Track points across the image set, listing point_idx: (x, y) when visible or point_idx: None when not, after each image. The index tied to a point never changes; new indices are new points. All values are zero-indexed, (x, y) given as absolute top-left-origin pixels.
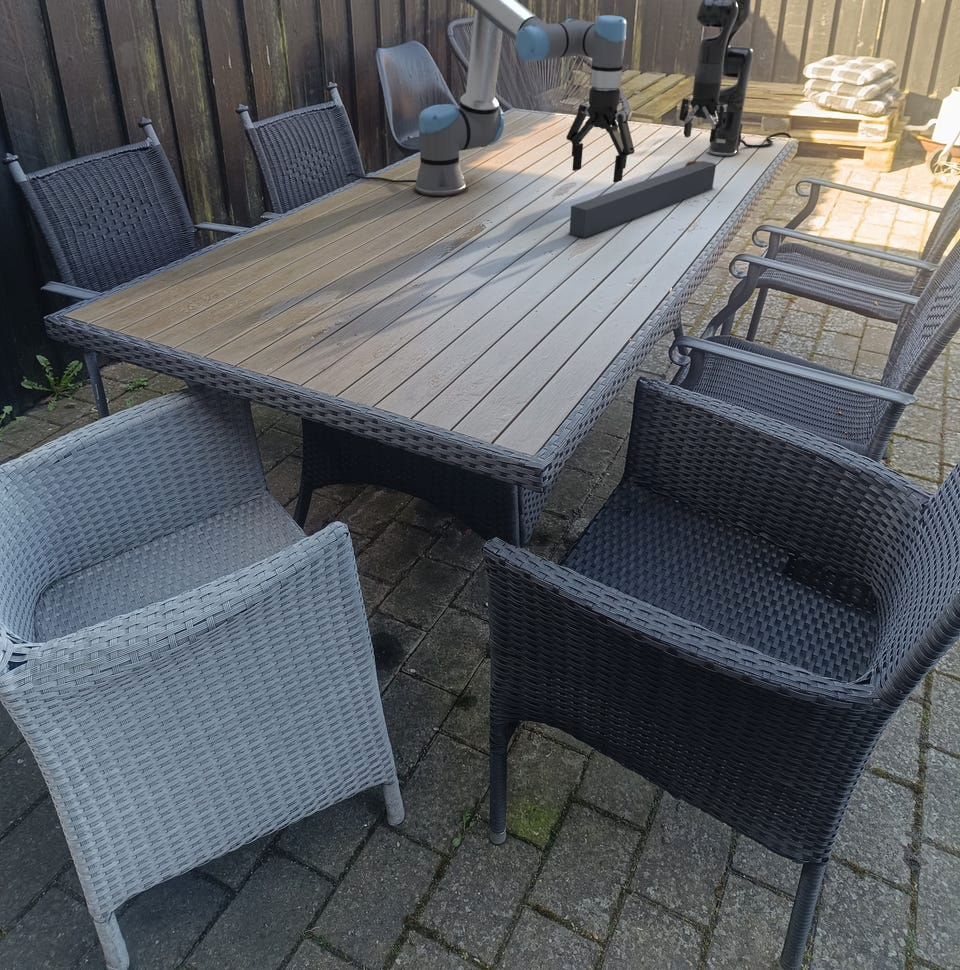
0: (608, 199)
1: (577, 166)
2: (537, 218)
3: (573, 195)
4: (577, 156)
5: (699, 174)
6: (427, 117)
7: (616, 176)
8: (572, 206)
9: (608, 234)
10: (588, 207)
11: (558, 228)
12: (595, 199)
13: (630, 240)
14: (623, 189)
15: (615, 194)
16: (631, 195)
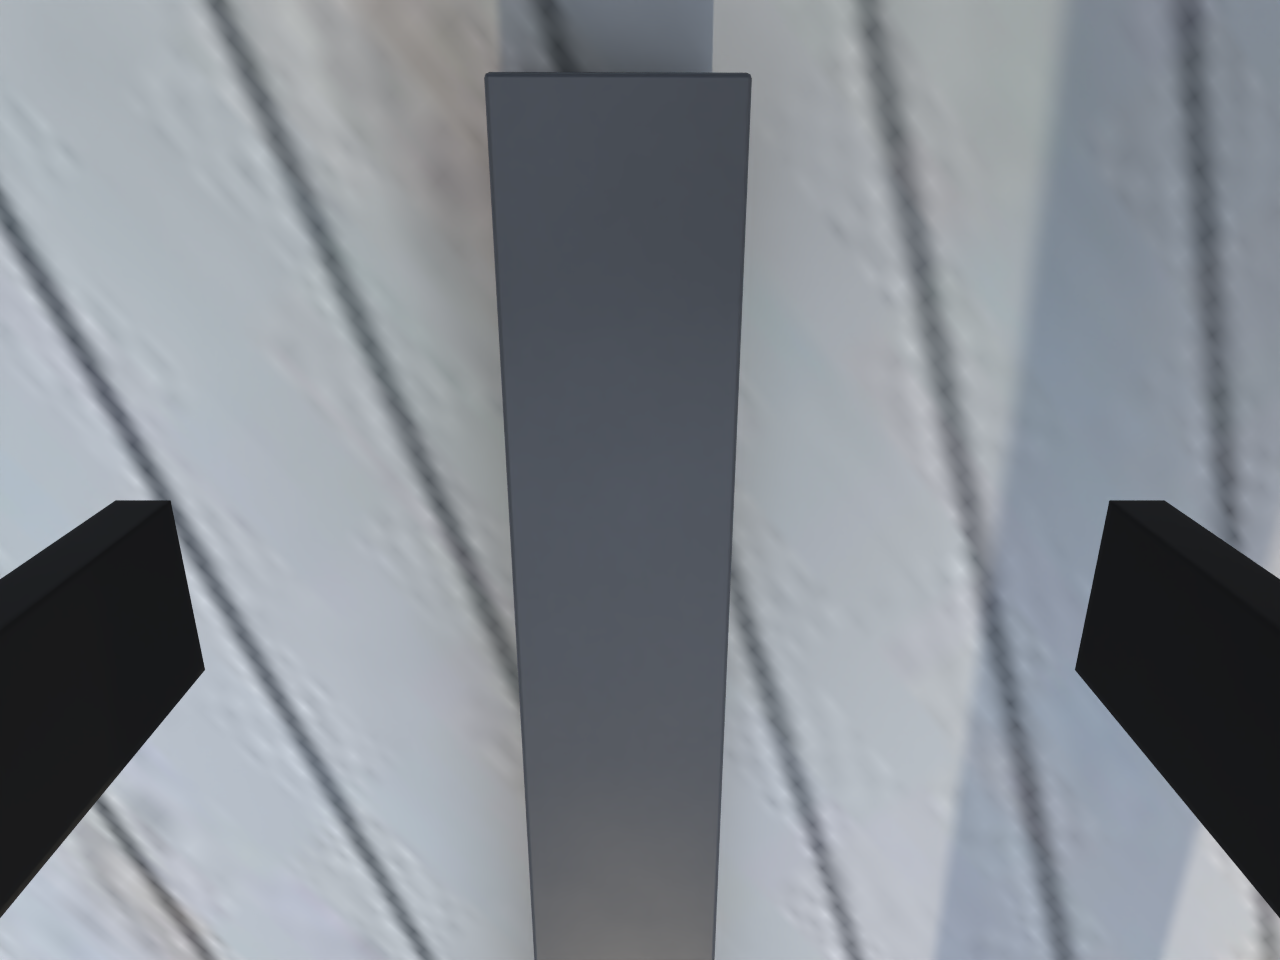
0: (574, 610)
1: (1130, 606)
2: (1223, 231)
3: None
4: (1269, 701)
5: None
6: None
7: (48, 559)
8: (727, 74)
9: (442, 358)
10: (535, 194)
11: (893, 147)
12: (683, 511)
13: (203, 372)
14: (679, 935)
15: (634, 780)
16: (530, 878)
